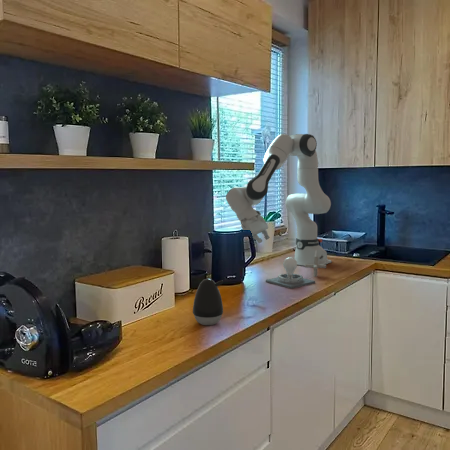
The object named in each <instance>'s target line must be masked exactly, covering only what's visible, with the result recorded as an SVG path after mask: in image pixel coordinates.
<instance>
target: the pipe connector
mask: <svg viewBox="0 0 450 450" xmlns="http://www.w3.org/2000/svg"><path fill="white" fill-rule="evenodd" d="M304 268H310V269H313V277H315V278H317V277H318V269H327V264H325V265H324V264H318V256H314V264H305V266H304Z"/></svg>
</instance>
